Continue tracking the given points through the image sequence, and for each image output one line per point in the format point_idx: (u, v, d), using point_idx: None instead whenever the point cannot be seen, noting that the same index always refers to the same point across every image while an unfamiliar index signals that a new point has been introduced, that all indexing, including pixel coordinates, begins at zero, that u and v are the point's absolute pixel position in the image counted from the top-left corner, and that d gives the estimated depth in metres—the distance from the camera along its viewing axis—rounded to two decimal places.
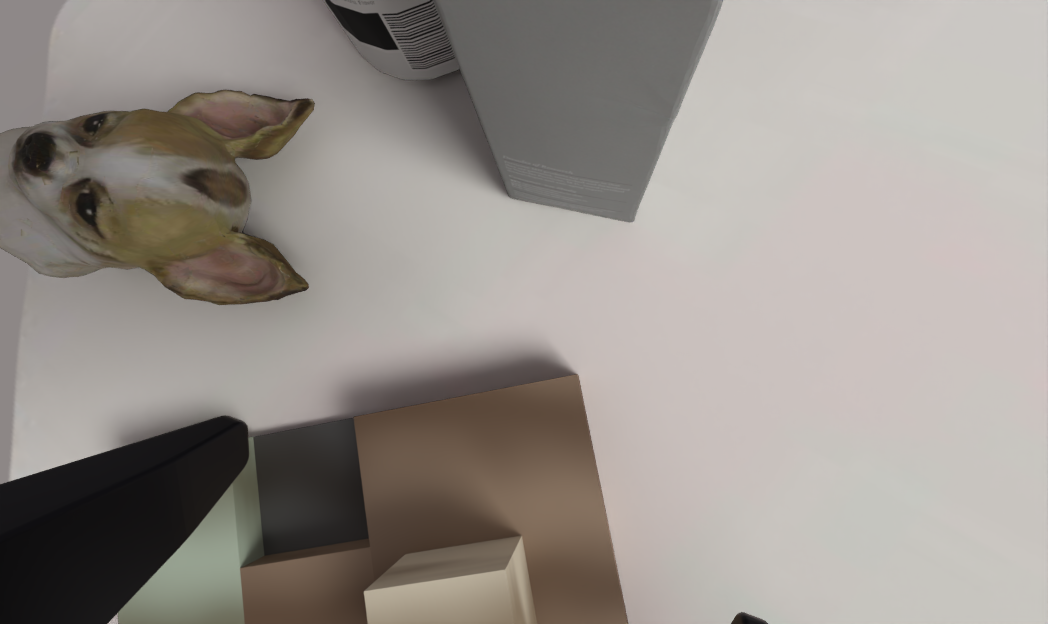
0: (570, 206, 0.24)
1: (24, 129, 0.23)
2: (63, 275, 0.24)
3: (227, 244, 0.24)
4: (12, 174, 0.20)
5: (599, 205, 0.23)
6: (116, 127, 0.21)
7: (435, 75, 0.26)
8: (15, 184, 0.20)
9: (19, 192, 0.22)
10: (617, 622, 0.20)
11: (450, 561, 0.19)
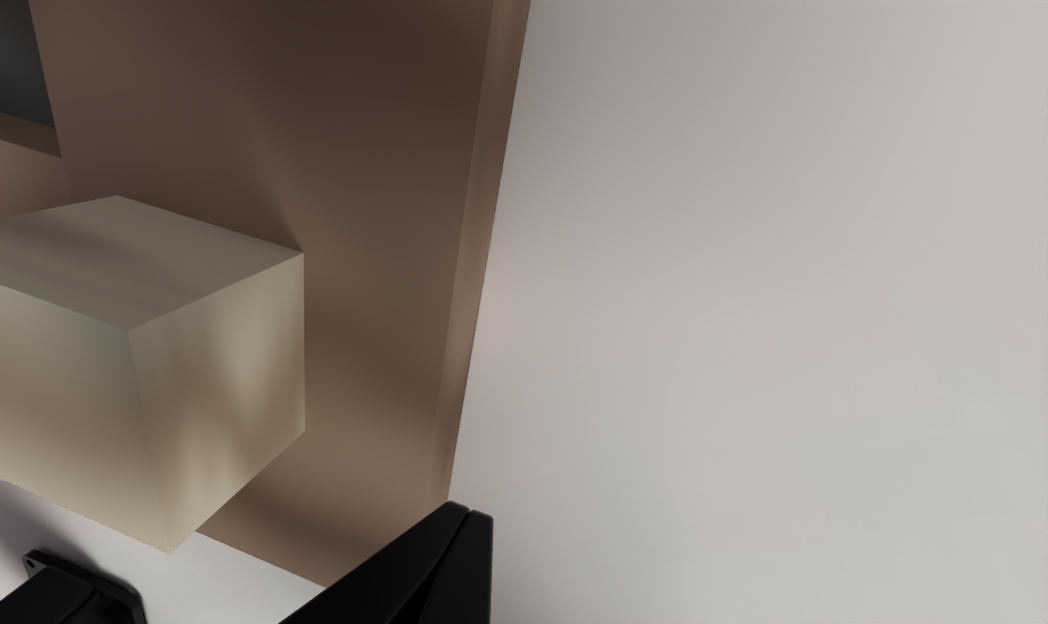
0: None
1: None
2: None
3: None
4: None
5: None
6: None
7: None
8: None
9: None
10: (419, 432, 0.12)
11: (119, 250, 0.10)
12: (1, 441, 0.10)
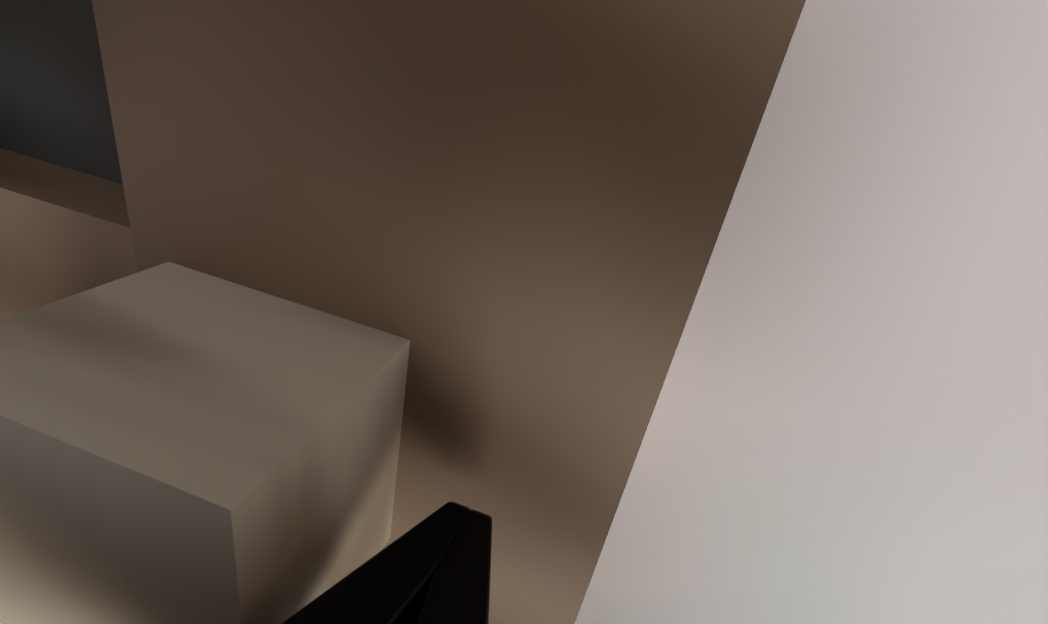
0: None
1: None
2: None
3: None
4: None
5: None
6: None
7: None
8: None
9: None
10: (575, 565, 0.10)
11: (188, 353, 0.07)
12: (34, 600, 0.08)
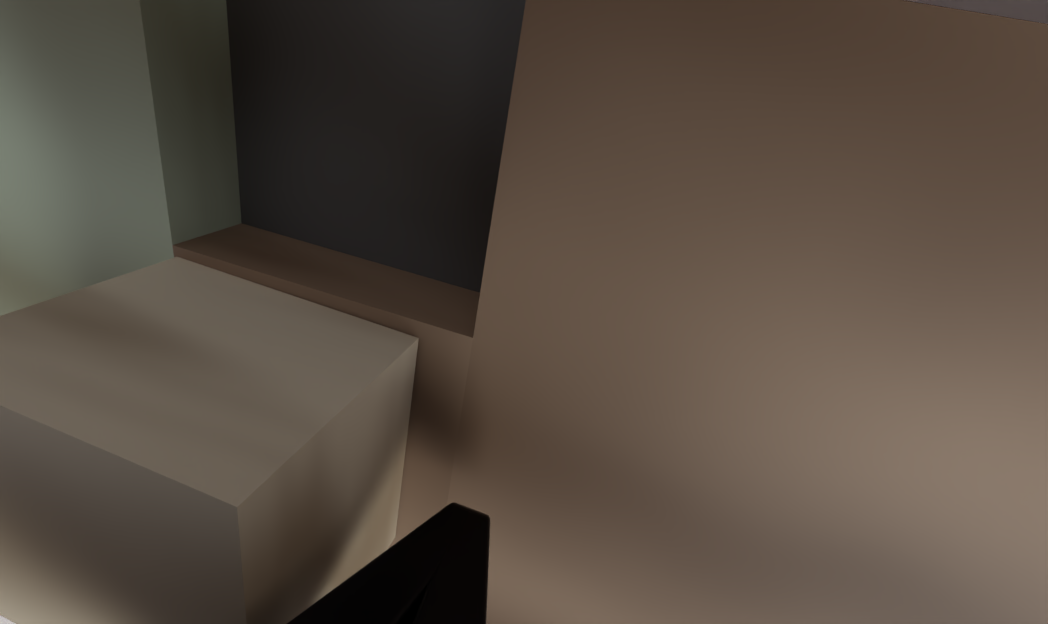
0: None
1: None
2: None
3: None
4: None
5: None
6: None
7: None
8: None
9: None
10: None
11: (196, 348, 0.07)
12: (37, 595, 0.08)
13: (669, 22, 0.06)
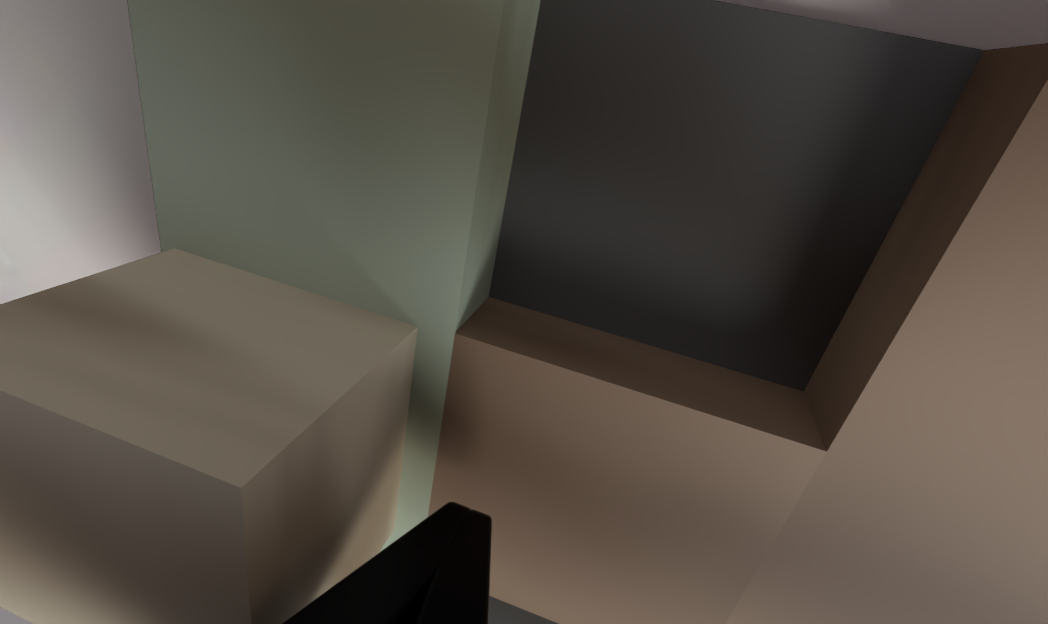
0: None
1: None
2: None
3: None
4: None
5: None
6: None
7: None
8: None
9: None
10: None
11: (196, 337, 0.07)
12: (37, 585, 0.08)
13: None
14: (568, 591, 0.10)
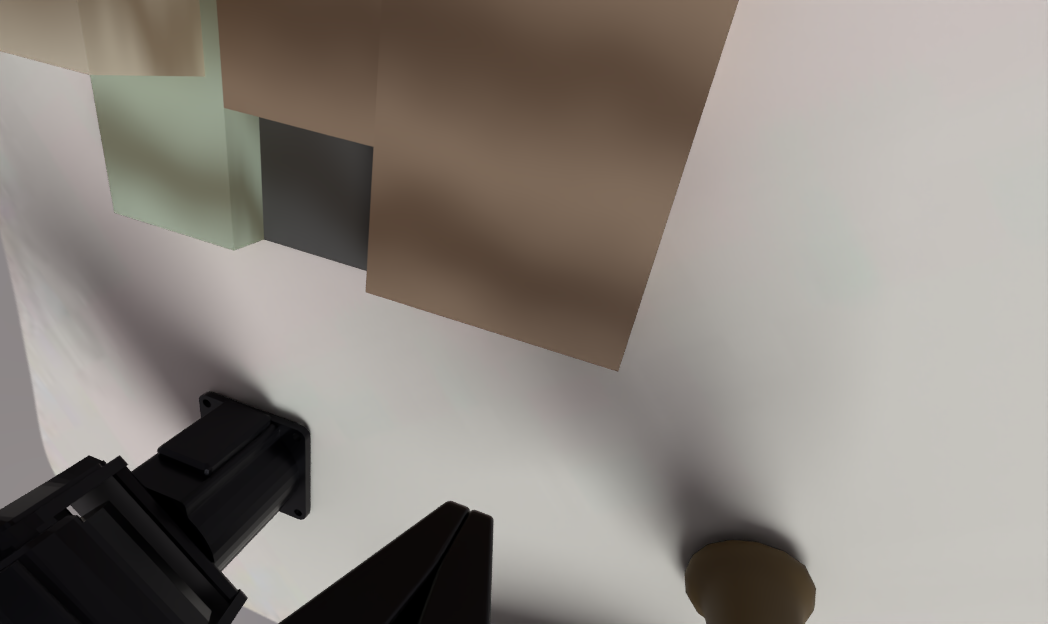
0: None
1: None
2: None
3: None
4: None
5: None
6: None
7: None
8: None
9: None
10: (672, 162, 0.15)
11: None
12: None
13: None
14: (300, 95, 0.17)
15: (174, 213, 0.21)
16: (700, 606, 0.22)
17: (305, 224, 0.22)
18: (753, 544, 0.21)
